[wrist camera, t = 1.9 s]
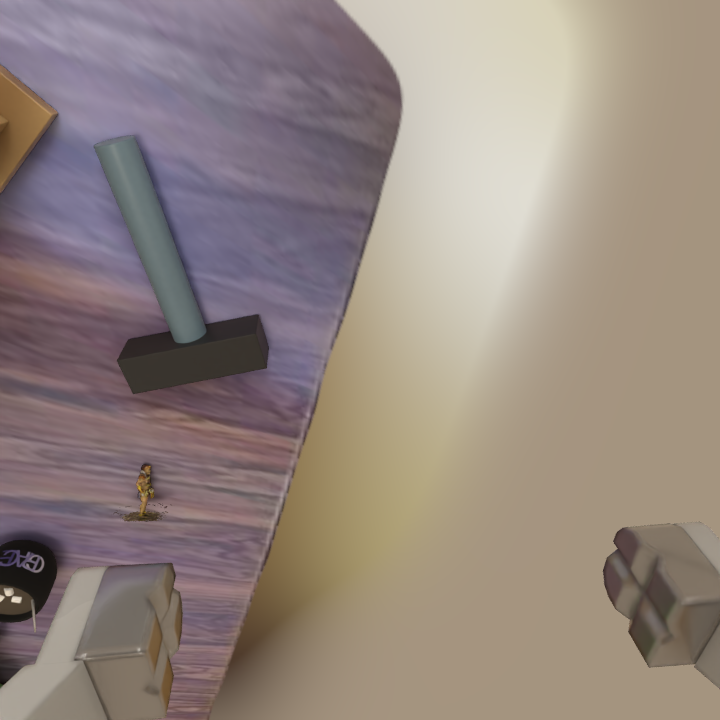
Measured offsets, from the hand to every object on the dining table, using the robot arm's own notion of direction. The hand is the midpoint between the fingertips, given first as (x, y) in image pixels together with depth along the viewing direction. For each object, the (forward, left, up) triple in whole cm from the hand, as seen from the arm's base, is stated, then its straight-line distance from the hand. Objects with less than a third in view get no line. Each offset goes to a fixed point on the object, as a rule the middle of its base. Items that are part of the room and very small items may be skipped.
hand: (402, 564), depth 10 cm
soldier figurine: (+21, +25, -27) cm, 42 cm away
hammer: (+12, +4, -30) cm, 33 cm away
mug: (+37, +27, -30) cm, 55 cm away
